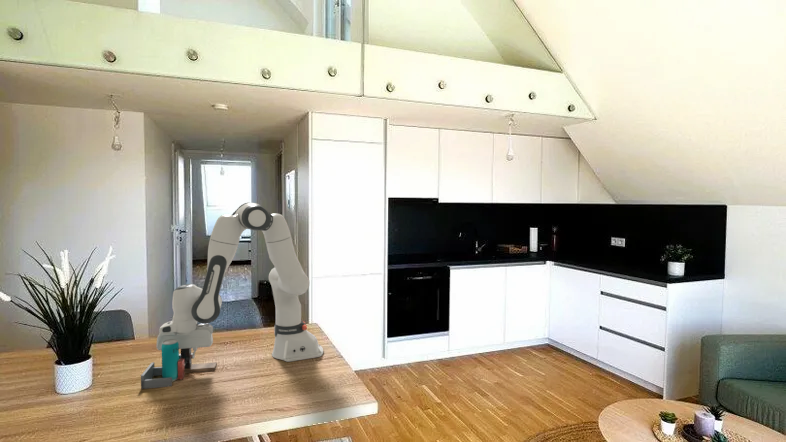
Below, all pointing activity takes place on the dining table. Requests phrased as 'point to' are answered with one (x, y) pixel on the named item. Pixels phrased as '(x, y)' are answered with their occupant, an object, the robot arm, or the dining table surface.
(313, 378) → the dining table surface
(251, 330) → the dining table surface
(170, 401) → the dining table surface
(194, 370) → the brown long flat block
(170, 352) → the beverage can
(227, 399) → the dining table surface
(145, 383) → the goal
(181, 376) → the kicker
